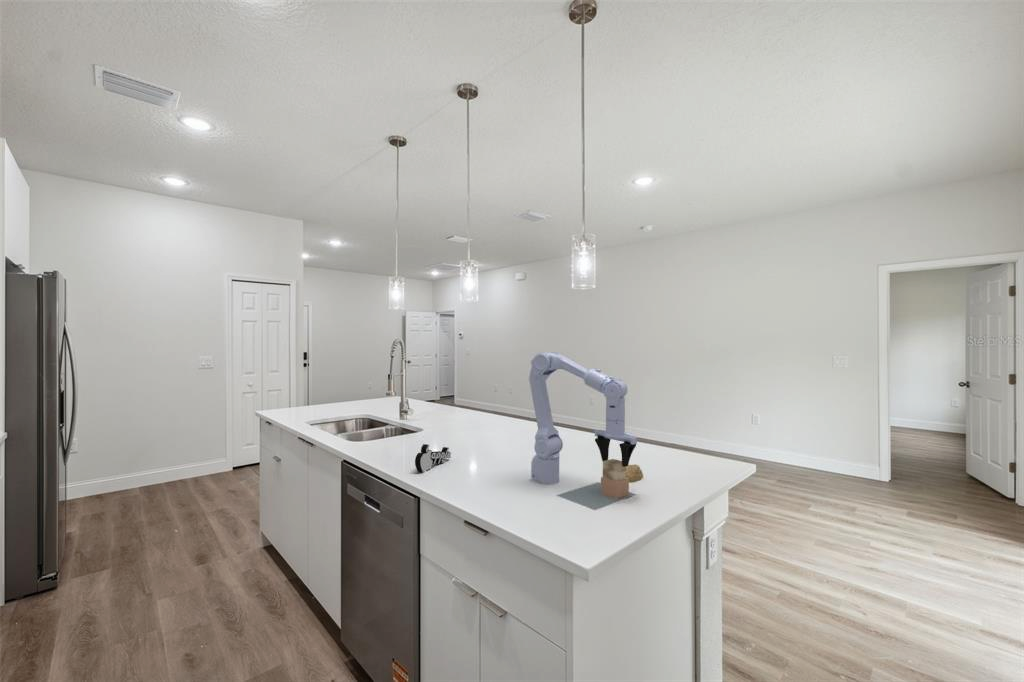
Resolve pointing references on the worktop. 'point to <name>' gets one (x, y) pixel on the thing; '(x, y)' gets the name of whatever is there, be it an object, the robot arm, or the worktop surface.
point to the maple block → (614, 470)
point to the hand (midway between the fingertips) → (614, 463)
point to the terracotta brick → (615, 487)
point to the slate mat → (591, 496)
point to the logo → (430, 458)
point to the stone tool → (633, 473)
